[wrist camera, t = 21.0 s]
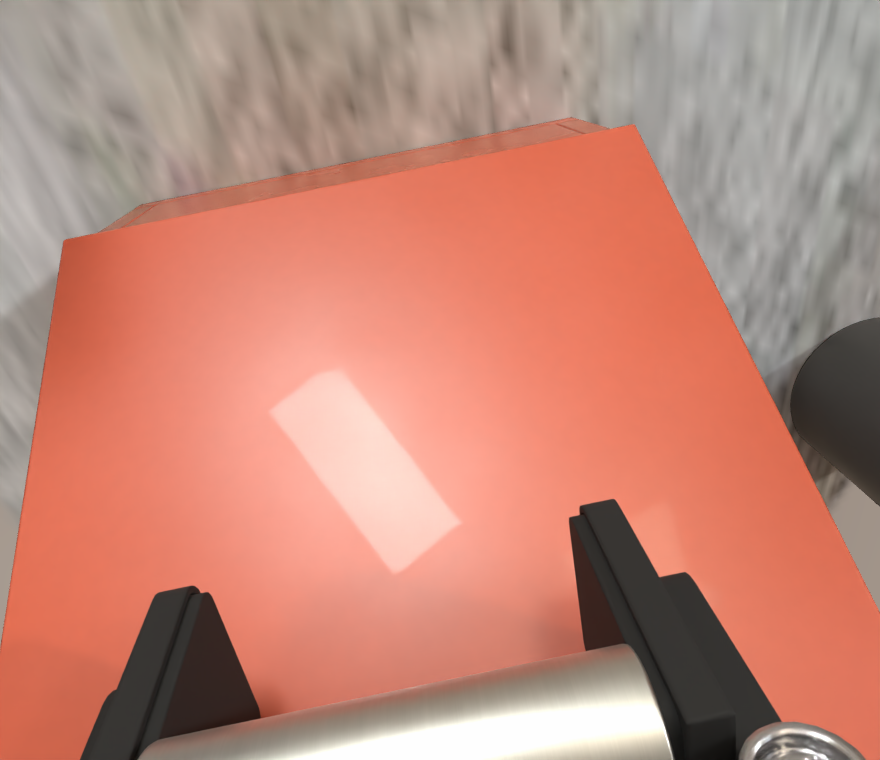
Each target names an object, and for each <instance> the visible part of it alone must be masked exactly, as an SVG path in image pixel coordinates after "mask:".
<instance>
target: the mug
mask: <svg viewBox="0 0 880 760" xmlns="http://www.w3.org/2000/svg"><path fill="white" fill-rule="evenodd" d="M791 415H792V420H793V423H794V425H795V428H796V429H797V431H798V433H799V434H800V435H801V437H802V438H803V439H804V440H805V441H806V442H807V443H808V444H810V445H811V446H812V447H813V448H814V449H815V450H816V451H818V452H819V453H820V454H821V455H822V456H823V457H824V458H825V459H827V460H828V461H829V462H830V463H831V464H832V465H833V466H835V467H836V468H837V469H838V470H839V471H840V472H841V473H842V474H844V475H845V476H846V477H847V478H848V479H849V480H850V481H851V482H853V483H854V484H855V485H856V486H857V487H858V488H859V489H861V490H862V491H863V492H864V493H865V494H866V495H867V496H869V497H870V498H871V499H872V500H873V501H874V502H875V503H876V504H878V505H879V506H880V318H873V319H868V320H864V321H860V322H858V323H855V324H853V325H850V326H848V327H846V328H844V329H842V330H840V331H839V332H837V333H836V334H834V335H833V336H831V337H830V338H829V339H827V340H826V341H825V342H824V343H822V344H821V345H820V346H819V347H818V348H817V349H816V350H815V351H814V352H813V354H812V355H811V356H810V357H809V358H808V360H807V361H806V363H805V364H804V366H803V367H802V369H801V371H800V373H799V374H798V376H797V379H796V381H795V384H794V387H793V391H792V396H791Z"/></svg>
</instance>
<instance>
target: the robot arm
mask: <svg viewBox="0 0 880 760" xmlns="http://www.w3.org/2000/svg"><path fill="white" fill-rule="evenodd" d="M579 514H580V515H578V516H573V517H569V528H570V536H571V544H572V552H573V560H574V568H575V576H576V585H577V593H578V601H579V609H580V617H581V625H582V633H583V641H584V646H585V650H586V651H589V650H594V649H599V648H604V647H609V646H614V645H618V644H628V645H629V646H631V647H632V649H633V650H634V651H635V653H636V654H637V656H638V657H639V659H640V661H641V663H642V665H643V666H644V668H645V671H646V673H647V675H648V677H649V680H650V682H651V684H652V687H653V689H654V692H655V695H656V697H657V700H658V703H659V706H660V709H661V712H662V715H663V718H664V721H665V724H666V727H667V731H668V734H669V738H670V741H671V745H672V749H673V753H674V756H675V760H866V759H865V758H864V756H863V755H862V754H861V753H860V752H859V751H858V750H857V749H856V748H855V747H853V746H852V745H851V744H849V743H848V742H847V741H845V740H844V739H842V738H841V737H840V736H838V735H836V734H834V733H832V732H829V731H827V730H825V729H823V728H820V727H818V726H815V725H810V724H805V723H800V722H782V721H781V719H780V717H779V716H778V714H777V712H776V711H775V709H774V708H773V706H772V704H771V703H770V701H769V700H768V698H767V696H766V695H765V693H764V692H763V690H762V688H761V687H760V685H759V684H758V682H757V680H756V679H755V677H754V676H753V674H752V672H751V671H750V669H749V668H748V666H747V664H746V663H745V661H744V660H743V658H742V656H741V655H740V653H739V652H738V650H737V648H736V647H735V645H734V644H733V642H732V640H731V639H730V637H729V636H728V634H727V632H726V631H725V629H724V627H723V626H722V624H721V623H720V621H719V619H718V618H717V616H716V615H715V613H714V611H713V610H712V608H711V607H710V605H709V603H708V602H707V600H706V599H705V597H704V595H703V594H702V592H701V591H700V589H699V587H698V586H697V584H696V583H695V581H694V580H693V579H692V577H691V576H690V575H689V574H688V573H686V572H682V573H677V574H672V575H667V576H662V577H659V576H658V574H657V572H656V570H655V568H654V567H653V565H652V563H651V561H650V559H649V558H648V556H647V554H646V552H645V551H644V549H643V547H642V545H641V543H640V542H639V540H638V538H637V536H636V534H635V533H634V531H633V529H632V527H631V526H630V524H629V522H628V520H627V518H626V517H625V515H624V513H623V511H622V509H621V508H620V506H619V504H618V503H617V501H616V500H615V499H609V500H604V501H600V502H595V503H590V504H585V505H581V506H580V508H579ZM256 719H261V715H260V710H259V707H258V704H257V702H256V700H255V697H254V695H253V692H252V690H251V688H250V685H249V683H248V680H247V678H246V676H245V673H244V671H243V669H242V666H241V664H240V661H239V659H238V657H237V654H236V652H235V650H234V647H233V645H232V642H231V640H230V638H229V635H228V633H227V630H226V628H225V626H224V623H223V621H222V619H221V616H220V614H219V611H218V609H217V607H216V604H215V602H214V600H213V597H212V596H211V594H210V593H209V592H204V593H200V591H199V589H198V588H197V587H196V586H187V587H182V588H177V589H172V590H168V591H163V592H158V593H157V594H156V595H155V596H154V598H153V600H152V602H151V605H150V607H149V609H148V612H147V614H146V617H145V619H144V622H143V624H142V627H141V629H140V632H139V634H138V637H137V639H136V642H135V644H134V647H133V649H132V652H131V654H130V657H129V659H128V662H127V664H126V667H125V669H124V672H123V674H122V677H121V679H120V682H119V684H118V687H117V689H116V690H113V691H112V692H111V693H110V694H109V695H108V696H107V698H106V699H105V701H104V703H103V705H102V707H101V709H100V712H99V714H98V717H97V719H96V722H95V724H94V726H93V729H92V731H91V734H90V736H89V738H88V741H87V743H86V746H85V748H84V751H83V753H82V755H81V758H80V760H138V758H139V757H140V755H141V754H142V752H143V751H144V750H145V749H146V748H147V747H148V746H149V745H150V744H152V743H153V742H155V741H157V740H160V739H164V738H169V737H174V736H178V735H183V734H188V733H193V732H198V731H203V730H207V729H212V728H217V727H222V726H227V725H232V724H236V723H241V722H246V721H251V720H256Z"/></svg>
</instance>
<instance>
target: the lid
mask: <svg viewBox="0 0 880 760" xmlns="http://www.w3.org/2000/svg"><path fill="white" fill-rule="evenodd" d="M609 499H615V500H616V501H617V503H618V504H619V506H620V508H621V509H622V511H623V513H624V515H625V517H626V518H627V520H628V522H629V524H630V526H631V527H632V529H633V531H634V533H635V534H636V536H637V538H638V540H639V542H640V543H641V545H642V547H643V549H644V551H645V552H646V554H647V556H648V558H649V559H650V561H651V563H652V565H653V567H654V568H655V570H656V572H657V574H658V576H659V577H662V576H667V575H672V574H677V573H682V572H686V573H688V574H689V575H690V576H691V577H692V579H693V580H694V581H695V583H696V584H697V586H698V587H699V589H700V591H701V592H702V594H703V595H704V597H705V599H706V600H707V602H708V603H709V605H710V607H711V608H712V610H713V611H714V613H715V615H716V616H717V618H718V619H719V621H720V623H721V624H722V626H723V627H724V629H725V631H726V632H727V634H728V636H729V637H730V639H731V640H732V642H733V644H734V645H735V647H736V648H737V650H738V652H739V653H740V655H741V656H742V658H743V660H744V661H745V663H746V664H747V666H748V668H749V669H750V671H751V672H752V674H753V676H754V677H755V679H756V680H757V682H758V684H759V685H760V687H761V688H762V690H763V692H764V693H765V695H766V696H767V698H768V700H769V701H770V703H771V704H772V706H773V708H774V709H775V711H776V712H777V714H778V716H779V717H780V719H781V721H782V722H800V723H805V724H810V725H815V726H818V727H820V728H823V729H825V730H827V731H829V732H832V733H834V734H836V735H838V736H840V737H841V738H842V739H844V740H845V741H847V742H848V743H849V744H851V745H852V746H853V747H855V748H856V749H857V750H858V751H859V752H860V753H861V754H862V755H863V756H864V758H865V759H866V760H880V612H879V610H878V608H877V606H876V604H875V602H874V600H873V598H872V596H871V594H870V592H869V590H868V588H867V586H866V584H865V582H864V580H863V578H862V576H861V574H860V572H859V570H858V568H857V566H856V564H855V562H854V560H853V558H852V556H851V555H850V552H849V550H848V548H847V546H846V544H845V542H844V540H843V538H842V536H841V534H840V532H839V531H838V528H837V526H836V524H835V522H834V520H833V518H832V516H831V514H830V512H829V510H828V508H827V506H826V504H825V503H824V501H823V499H822V497H821V495H820V493H819V491H818V489H817V487H816V485H815V483H814V481H813V479H812V477H811V475H810V473H809V471H808V469H807V467H806V465H805V463H804V461H803V459H802V457H801V455H800V453H799V451H798V449H797V447H796V445H795V443H794V441H793V439H792V437H791V435H790V433H789V431H788V429H787V427H786V425H785V423H784V421H783V419H782V417H781V415H780V413H779V411H778V409H777V407H776V405H775V403H774V401H773V399H772V397H771V395H770V393H769V391H768V389H767V387H766V385H765V383H764V381H763V379H762V377H761V375H760V373H759V371H758V369H757V367H756V365H755V363H754V361H753V359H752V357H751V355H750V353H749V351H748V349H747V347H746V345H745V343H744V341H743V339H742V337H741V335H740V333H739V331H738V329H737V327H736V325H735V323H734V321H733V319H732V317H731V315H730V313H729V311H728V309H727V307H726V305H725V303H724V301H723V299H722V297H721V295H720V293H719V291H718V289H717V287H716V285H715V283H714V281H713V279H712V277H711V275H710V273H709V271H708V269H707V267H706V265H705V263H704V262H703V260H702V258H701V256H700V254H699V252H698V250H697V248H696V246H695V244H694V242H693V240H692V238H691V236H690V234H689V232H688V230H687V228H686V226H685V224H684V222H683V220H682V218H681V216H680V214H679V212H678V210H677V208H676V206H675V204H674V202H673V200H672V198H671V196H670V194H669V192H668V190H667V188H666V186H665V184H664V182H663V180H662V178H661V176H660V174H659V172H658V170H657V168H656V166H655V164H654V162H653V160H652V158H651V156H650V154H649V152H648V150H647V148H646V146H645V144H644V142H643V140H642V138H641V136H640V134H639V132H638V130H637V128H636V126H635V125H633V124H632V125H627V126H622V127H617V128H613V129H608V130H603V131H598V132H593V133H588V134H583V135H578V136H573V137H568V138H563V139H558V140H553V141H549V142H544V143H539V144H534V145H529V146H524V147H519V148H514V149H509V150H504V151H499V152H494V153H489V154H484V155H480V156H475V157H470V158H465V159H460V160H455V161H450V162H445V163H440V164H435V165H430V166H425V167H420V168H416V169H411V170H406V171H401V172H396V173H391V174H386V175H381V176H376V177H371V178H366V179H361V180H356V181H351V182H347V183H342V184H337V185H332V186H327V187H322V188H317V189H312V190H307V191H302V192H297V193H292V194H287V195H283V196H278V197H273V198H268V199H263V200H258V201H253V202H248V203H243V204H238V205H233V206H228V207H223V208H218V209H214V210H209V211H204V212H199V213H194V214H189V215H184V216H179V217H174V218H169V219H164V220H159V221H154V222H149V223H145V224H140V225H135V226H130V227H125V228H120V229H115V230H110V231H105V232H100V233H95V234H90V235H85V236H81V237H76V238H71V239H66V240H64V241H63V247H62V253H61V260H60V266H59V272H58V279H57V285H56V292H55V298H54V305H53V311H52V318H51V324H50V331H49V337H48V343H47V350H46V356H45V363H44V369H43V376H42V382H41V389H40V395H39V402H38V408H37V414H36V421H35V427H34V434H33V440H32V447H31V453H30V460H29V466H28V472H27V479H26V485H25V492H24V498H23V505H22V511H21V518H20V524H19V531H18V537H17V543H16V550H15V556H14V564H13V570H12V576H11V582H10V589H9V595H8V602H7V609H6V615H5V621H4V627H3V634H2V640H1V647H0V760H80V758H81V755H82V753H83V751H84V748H85V746H86V743H87V741H88V738H89V736H90V734H91V731H92V729H93V726H94V724H95V722H96V719H97V717H98V714H99V712H100V709H101V707H102V705H103V703H104V701H105V699H106V698H107V696H108V695H109V694H110V693H111V692H112V691H113V690H116V689H117V687H118V684H119V682H120V679H121V677H122V674H123V672H124V669H125V667H126V664H127V662H128V659H129V657H130V654H131V652H132V649H133V647H134V644H135V642H136V639H137V637H138V634H139V632H140V629H141V627H142V624H143V622H144V619H145V617H146V614H147V612H148V609H149V607H150V605H151V602H152V600H153V598H154V596H155V595H156V594H157V593H158V592H163V591H168V590H172V589H177V588H182V587H187V586H196V587H197V588H198V589H199V591H200V593H204V592H209V593H210V594H211V596H212V597H213V600H214V602H215V604H216V607H217V609H218V611H219V614H220V616H221V619H222V621H223V623H224V626H225V628H226V630H227V633H228V635H229V638H230V640H231V642H232V645H233V647H234V650H235V652H236V654H237V657H238V659H239V661H240V664H241V666H242V669H243V671H244V673H245V676H246V678H247V680H248V683H249V685H250V688H251V690H252V692H253V695H254V697H255V700H256V702H257V704H258V707H259V710H260V715H261V719H256V720H251V721H246V722H241V723H236V724H232V725H227V726H222V727H217V728H212V729H207V730H203V731H198V732H193V733H188V734H183V735H178V736H174V737H169V738H164V739H160V740H157V741H155V742H153V743H152V744H150V745H149V746H148V747H147V748H146V749H145V750H144V751H143V752H142V754H141V755H140V757H139V758H138V760H675V756H674V753H673V749H672V745H671V741H670V738H669V734H668V731H667V727H666V724H665V721H664V718H663V715H662V712H661V709H660V706H659V703H658V700H657V697H656V695H655V692H654V689H653V687H652V684H651V682H650V680H649V677H648V675H647V673H646V671H645V668H644V666H643V665H642V663H641V661H640V659H639V657H638V656H637V654H636V653H635V651H634V650H633V649H632V647H631V646H629V645H628V644H618V645H614V646H609V647H604V648H599V649H594V650H589V651H586V650H585V646H584V641H583V633H582V625H581V617H580V609H579V601H578V593H577V585H576V576H575V568H574V560H573V552H572V544H571V536H570V528H569V517H573V516H578V515H580V514H579V508H580V506H581V505H585V504H590V503H595V502H600V501H604V500H609Z"/></svg>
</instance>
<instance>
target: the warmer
mask: <svg viewBox="0 0 880 760" xmlns="http://www.w3.org/2000/svg"><path fill="white" fill-rule="evenodd" d="M608 129H609V128H606V127H603V126H599V125H596V124H593V123H589V122H586V121H583V120H579V119H576V118H572V117H571V118H566V119H561V120H556V121H551V122H546V123H541V124H537V125H532V126H527V127H522V128H517V129H512V130H507V131H502V132H497V133H492V134H487V135H482V136H477V137H472V138H468V139H463V140H458V141H453V142H448V143H443V144H438V145H433V146H428V147H423V148H418V149H413V150H408V151H403V152H399V153H394V154H389V155H384V156H379V157H374V158H369V159H364V160H359V161H354V162H349V163H344V164H339V165H334V166H330V167H325V168H320V169H315V170H310V171H305V172H300V173H295V174H290V175H285V176H280V177H275V178H270V179H265V180H260V181H256V182H251V183H246V184H241V185H236V186H231V187H226V188H221V189H216V190H211V191H206V192H201V193H196V194H191V195H187V196H182V197H177V198H172V199H167V200H162V201H157V202H152V203H147V204H142V205H140V206H138V207H137V208H135V209H134V210H132V211H131V212H129V213H128V214H126V215H125V216H123V217H122V218H120V219H118V220H117V221H115V222H114V223H112V224H111V225H109V226H108V227H106V228H104V229H103V230H101V231H100V232H105V231H110V230H115V229H120V228H125V227H130V226H135V225H140V224H145V223H149V222H154V221H159V220H164V219H169V218H174V217H179V216H184V215H189V214H194V213H199V212H204V211H209V210H214V209H218V208H223V207H228V206H233V205H238V204H243V203H248V202H253V201H258V200H263V199H268V198H273V197H278V196H283V195H287V194H292V193H297V192H302V191H307V190H312V189H317V188H322V187H327V186H332V185H337V184H342V183H347V182H351V181H356V180H361V179H366V178H371V177H376V176H381V175H386V174H391V173H396V172H401V171H406V170H411V169H416V168H420V167H425V166H430V165H435V164H440V163H445V162H450V161H455V160H460V159H465V158H470V157H475V156H480V155H484V154H489V153H494V152H499V151H504V150H509V149H514V148H519V147H524V146H529V145H534V144H539V143H544V142H549V141H553V140H558V139H563V138H568V137H573V136H578V135H583V134H588V133H593V132H598V131H603V130H608ZM100 232H98V233H100Z"/></svg>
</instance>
